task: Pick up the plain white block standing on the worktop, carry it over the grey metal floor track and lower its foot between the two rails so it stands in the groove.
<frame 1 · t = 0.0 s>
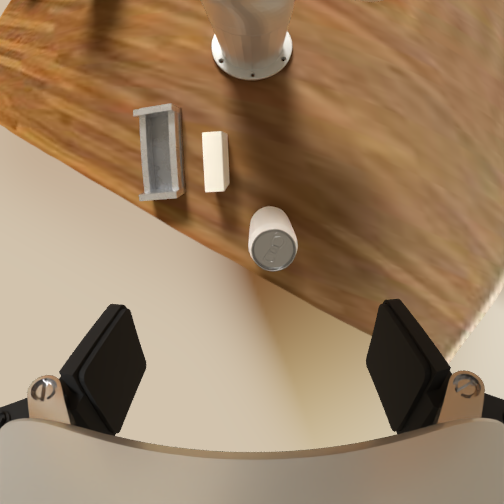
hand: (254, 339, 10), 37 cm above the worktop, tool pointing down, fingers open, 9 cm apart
track: (165, 151, 42), on the worktop
plain white block: (220, 159, 43), on the worktop
can: (269, 224, 46), on the worktop
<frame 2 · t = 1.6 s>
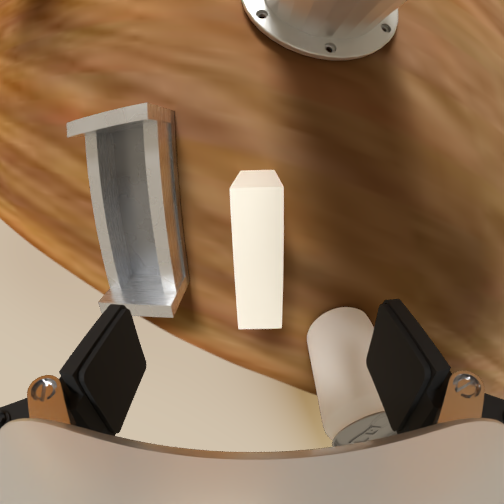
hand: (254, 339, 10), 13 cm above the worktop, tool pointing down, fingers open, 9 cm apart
track: (145, 202, 21), on the worktop
plain white block: (258, 221, 22), on the worktop
can: (338, 330, 26), on the worktop
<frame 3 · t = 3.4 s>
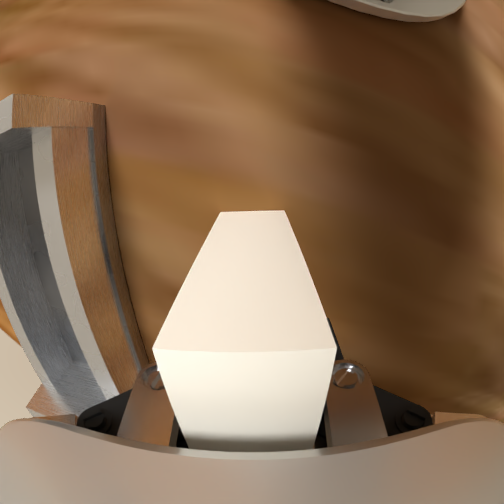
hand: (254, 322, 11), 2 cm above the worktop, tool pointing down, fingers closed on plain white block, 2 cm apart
track: (72, 261, 12), on the worktop
plain white block: (255, 300, 12), on the worktop, touching gripper
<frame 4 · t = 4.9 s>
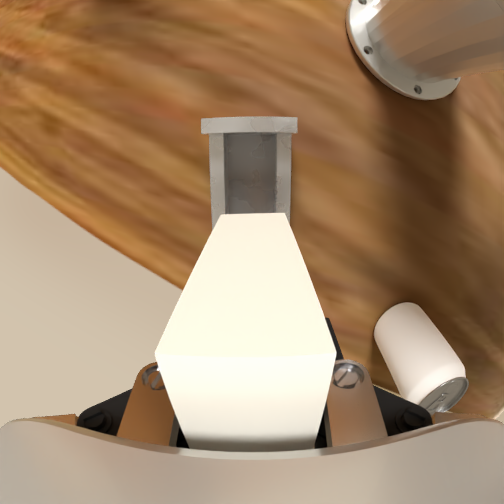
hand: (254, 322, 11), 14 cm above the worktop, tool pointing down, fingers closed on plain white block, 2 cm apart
track: (251, 205, 24), on the worktop
plain white block: (255, 302, 12), point 13 cm above the worktop, touching gripper
can: (397, 323, 28), on the worktop
when the fingers open (4 cm above the worktop, at t = 6.6 s): plain white block drops 2 cm, resting on track.
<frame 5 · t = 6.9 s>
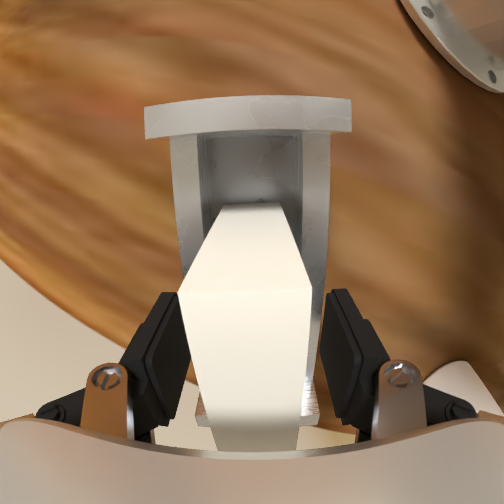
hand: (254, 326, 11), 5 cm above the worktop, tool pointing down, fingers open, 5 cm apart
track: (254, 256, 15), on the worktop
plain white block: (255, 283, 14), point 1 cm above the worktop, touching track
can: (439, 382, 19), on the worktop
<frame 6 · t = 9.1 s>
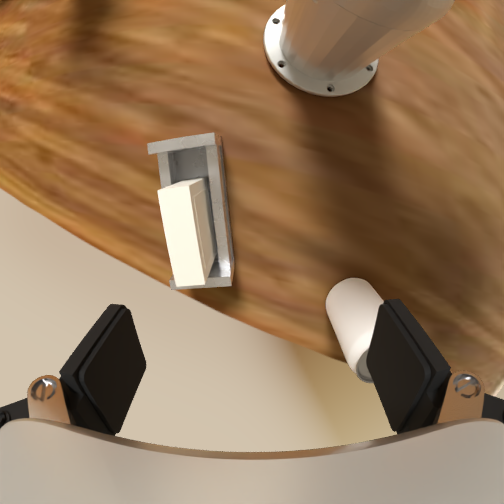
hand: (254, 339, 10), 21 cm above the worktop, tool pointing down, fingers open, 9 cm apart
track: (200, 205, 29), on the worktop
plain white block: (200, 216, 29), point 1 cm above the worktop, touching track
can: (348, 298, 33), on the worktop
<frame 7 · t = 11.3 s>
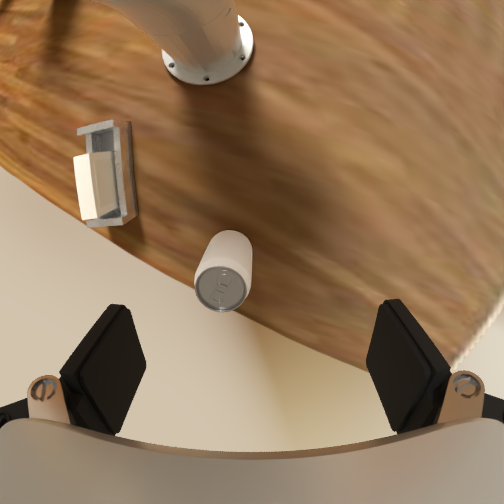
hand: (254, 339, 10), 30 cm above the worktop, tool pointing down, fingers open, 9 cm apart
track: (116, 170, 37), on the worktop
plain white block: (113, 178, 36), point 1 cm above the worktop, touching track
can: (230, 249, 41), on the worktop
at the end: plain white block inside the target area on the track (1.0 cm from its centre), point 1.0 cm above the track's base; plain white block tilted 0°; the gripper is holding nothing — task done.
